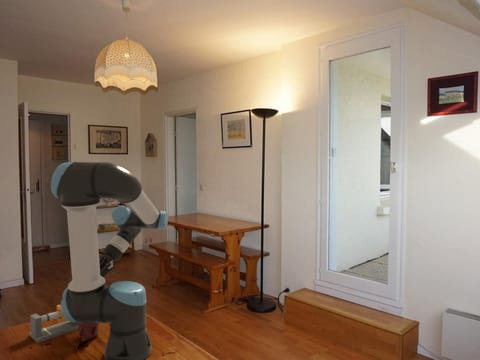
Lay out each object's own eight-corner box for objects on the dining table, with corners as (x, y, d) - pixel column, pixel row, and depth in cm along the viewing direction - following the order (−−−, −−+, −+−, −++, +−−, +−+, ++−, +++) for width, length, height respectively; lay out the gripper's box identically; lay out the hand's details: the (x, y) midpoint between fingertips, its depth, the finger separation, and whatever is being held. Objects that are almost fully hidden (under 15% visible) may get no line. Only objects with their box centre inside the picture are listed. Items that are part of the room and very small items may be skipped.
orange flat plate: (60, 317, 140) (59, 304, 140) (65, 321, 136) (65, 308, 136) (56, 318, 139) (56, 305, 139) (62, 322, 136) (62, 309, 135)
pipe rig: (75, 321, 146) (75, 301, 146) (84, 327, 141) (84, 306, 140) (29, 335, 133) (29, 313, 133) (37, 342, 128) (36, 320, 128)
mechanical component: (108, 332, 137) (92, 345, 127) (85, 329, 139) (67, 342, 129) (108, 300, 136) (92, 310, 126) (84, 298, 138) (67, 308, 128)
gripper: (129, 256, 151) (91, 306, 140) (114, 250, 160) (77, 297, 149) (118, 245, 147) (77, 296, 136) (102, 240, 156) (63, 288, 145)
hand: (77, 297), depth 142 cm, fingers closed
